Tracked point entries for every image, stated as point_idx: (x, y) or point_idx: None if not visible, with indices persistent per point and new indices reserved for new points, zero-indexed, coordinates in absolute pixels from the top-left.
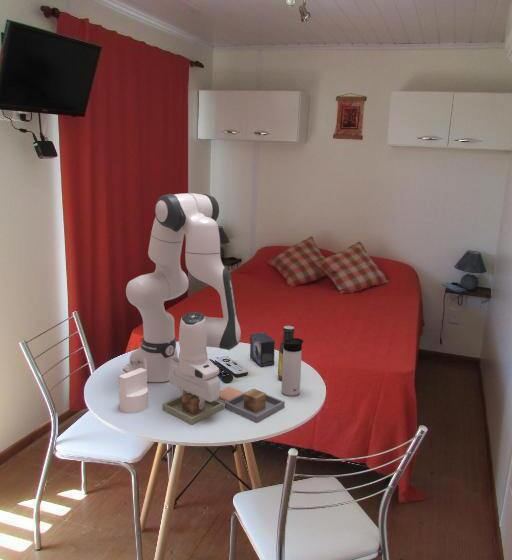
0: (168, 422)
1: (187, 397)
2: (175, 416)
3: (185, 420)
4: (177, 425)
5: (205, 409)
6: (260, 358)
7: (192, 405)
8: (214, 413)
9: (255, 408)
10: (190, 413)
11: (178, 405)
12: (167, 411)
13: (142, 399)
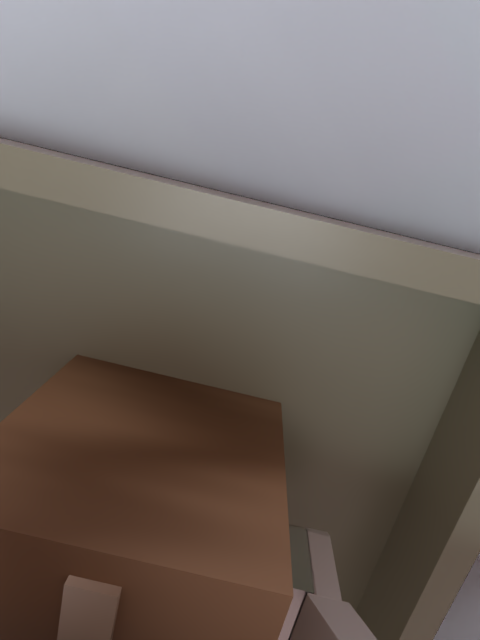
0: (262, 21)
1: (105, 561)
2: (248, 198)
3: (19, 143)
4: (89, 20)
5: None
6: None
7: (3, 428)
8: None
9: None
10: (119, 365)
11: (385, 465)
12: (432, 243)
13: None
